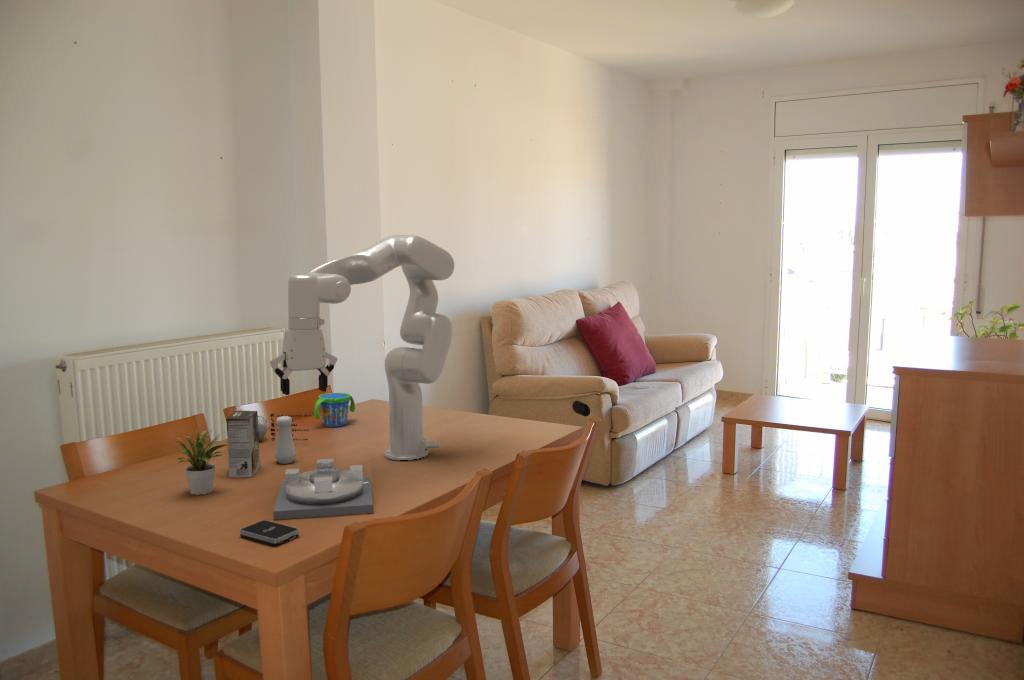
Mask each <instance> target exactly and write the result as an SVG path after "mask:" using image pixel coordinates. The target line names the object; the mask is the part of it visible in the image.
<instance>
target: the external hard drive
mask: <svg viewBox="0 0 1024 680" xmlns="http://www.w3.org/2000/svg"><path fill="white" fill-rule="evenodd" d="M299 529H300V528H298V527H295V526H290V525H286V524H283V523H282V524H281V523H278V522H274V521H271V520H266V519H262V520H259V521H257V522H254V523H252V524H250V525H246V526H245V527H242V528H240V529H239V535H240V537H241V538H243V539H245V538H246V540H250V541H254V542H257V543H260V544H265V545H267V546H271V547H275V548H276V547H278V546H280V545H283V544H285V543H287V542H289V541H292V540H295V539H296V538H298V537H299V536H300V532H299Z"/></svg>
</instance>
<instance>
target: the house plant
mask: <svg viewBox="0 0 1024 680" xmlns="http://www.w3.org/2000/svg"><path fill="white" fill-rule="evenodd" d="M213 430H214V429H213V428H212V429H211V430H210V431H209V432H208V433H207V429H204V430H203V431H202V432H201V434H199V427H197V428H196V430H195V431H196V432H195V442H194V441H193V439H192V438H191V437H190V436H188V435H187V434H185V435H184V437H185V438H187V442H188V443H189V446H190V447H191V449H190V447H189V446H188V444H186V443H185V442H184V441H183V439H181V438H178V437H177V439H178V440H180V441H178V440H176V439H174V442H177V443H178V444H179V445H180V446H181V447H182V448H183V449H181V450H179V453H181V454H184V455H186V456H187V457H188V458H186V457H183V456H179V457H177V458H176V464H177V465H178V464H180V463H182V462H183V463H184V462H185V460H186V461H187V462H188V463H190V464H191V465H188V466H186V467H185V469H184V472H185V476H186V480H187V484H188V488H189V493H190V494H191V493H192V494H191V495H193V494H203V495H206V494H205V493H208V494H210V493H212V492H213V490H214V489H213V488H214V481H215V473H216V465H215V464H213V463H209V462H210V460H212V459H214V458H217V457H224V458H225V455H227V453H226V451H216V450H219V449H221V448H224V447H226V446H227V447H228V445H232V444H228V443H227V444H218V445H215V446H213V445H214V444H216V443H217V440H223V439H224V437H222V438H221V437H220V436H222V435H223V434H225V433H226V432H222V433H220V434H218V435H216V436H215V437H214V438H213V439H212V441H211V442H210V443H208V444H207V446H206V445H205V444H206V441H207V439H208V437H209V435H211V433H212V432H213ZM180 436H181V437H182V436H183V435H180ZM219 437H220V438H219ZM205 446H206V447H205ZM224 454H225V455H224ZM211 491H212V492H211ZM209 492H210V493H209Z"/></svg>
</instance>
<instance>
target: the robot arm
mask: <svg viewBox="0 0 1024 680" xmlns="http://www.w3.org/2000/svg"><path fill="white" fill-rule="evenodd" d="M453 258H454V257H453V256H452V255H451V253H450V252H448V251H447V250H445V249H444V248H442V247H440V246H439V245H437V244H435V243H433V242H431V241H430V240H428V239H426V238H424V237H422V236H419V235H415V234H413V235H412V234H395V235H389V236H387V237H385V238H383V239H381V240H379V241H377V242H375V243H374V244H372V245H369V246H368V247H366V248H364V249H363V250H361V251H358V252H356V253H353V254H349V255H347V256H343V257H341V258H338V259H335V260H332V261H329V262H326V263H324V264H322V265H320V266H317V267H316V268H314V269H312V270H310V271H308V272H307V273H305V274H292V275H290V276H289V277H288V279H287V302H288V303H287V304H288V305H287V311H288V314H287V315H288V317H287V319H288V323H287V324H288V327H287V328H288V329H286V330H284V333H283V338H282V346H281V347H282V348H281V354H280V355H278V356H276V357H275V358H274V359H271V360H270V361H269V365H270V367H271V369H272V371H273V372H274V374H275V375H277V377H278V378H279V379H280V392H281V394H282V395H286V396H289V395H290V393H291V392H290V391H291V389H290V387H291V386H290V385H291V384H290V383H291V381H290V379H289V376H290V375H291V374H292V372H296V371H297V372H299V371H310V370H314V371H315V370H317V371H318V372H319V373H320V374H319V375H318V391H320V392H324V393H325V392H327V388H328V383H329V382H328V381H329V380H328V377H329V376H330V373H331V372H332V371H333V370H334V369H335V365H336V363H337V362H338V357H336V356H334V355H332V354H330V353H328V352H326V345H325V338H324V333H323V329H320V328H321V326H322V325H325V324H326V323H325V322H326V321H325V319H322V318H321V317H320V315H321V314H320V304H321V303H322V304H330V305H331V304H333V305H335V304H339V303H340V304H341V303H343V302H345V301H346V300H347V299H348V298H349V297H350V294H351V290H352V286H353V285H361V284H367V283H371V282H374V281H376V280H378V279H379V278H381V277H383V276H384V275H387V274H388V273H390V272H391V271H393V270H394V269H396V268H398V267H401V270H402V272H403V275H404V277H405V279H406V280H407V284H408V288H409V297H408V301H407V305H406V308H405V312H404V314H403V317H402V321H401V323H400V324H401V325H400V330H399V335H400V338H401V339H402V340H403V342H405V343H407V344H411V345H415V346H422V348H415V347H408V346H398V347H395V348H392V349H391V350H390V351H388V353H387V354H386V357H385V359H384V371H385V375H386V380H387V384H388V385H387V387H388V412H389V413H388V415H389V418H388V419H389V448H388V449H386V450H385V451H384V457H386V459H388V460H393V461H400V460H408V461H414V460H413V459H417V460H420V459H419V458H421V459H423V458H422V457H424V456H426V455H427V456H429V449H433V450H434V449H439V448H440V442H439V441H435V440H425V438H424V436H423V435H424V434H423V433H424V429H423V427H424V425H423V421H424V420H423V417H424V416H423V391H422V388H421V386H420V384H427V385H428V384H429V385H430V384H433V383H435V382H436V381H438V380H439V378H440V377H441V375H442V373H443V369H444V367H445V362H446V360H447V356H448V352H449V349H450V346H451V342H452V339H453V326H452V323H451V321H450V319H449V318H448V317H447V316H446V315H444V314H441V313H438V312H437V308H438V304H439V294H438V289H437V287H436V285H435V284H434V281H445V280H447V279H449V278H450V277H451V276H452V275H453V273H454V270H455V260H454V259H453ZM327 359H328V360H329V362H328V364H327V365H326V360H327ZM280 363H281V368H282V370H281V368H280V367H279V364H280ZM427 456H426V457H427ZM424 458H425V457H424Z"/></svg>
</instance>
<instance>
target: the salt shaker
mask: <svg viewBox="0 0 1024 680" xmlns="http://www.w3.org/2000/svg"><path fill="white" fill-rule="evenodd" d="M280 416H281V415H280ZM280 416H279V417H277V418H276V420H275V421H276V422H275V424H276V427H278V428H277V429H278V431H277V434H276V440H275V441H276V442H275V450H274V457H275V459H276V460H277V462H278V463H279V465H288V464H292V463H293V462H294V460H295V457H296V453H297V452H296V447H295V443H294V440H293V439H294V438H293V436H292V435H293V433H292V431H291V424H293V421H292V417H291V416H290V417H289V415H286V416H285V415H284V416H281V417H280Z"/></svg>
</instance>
